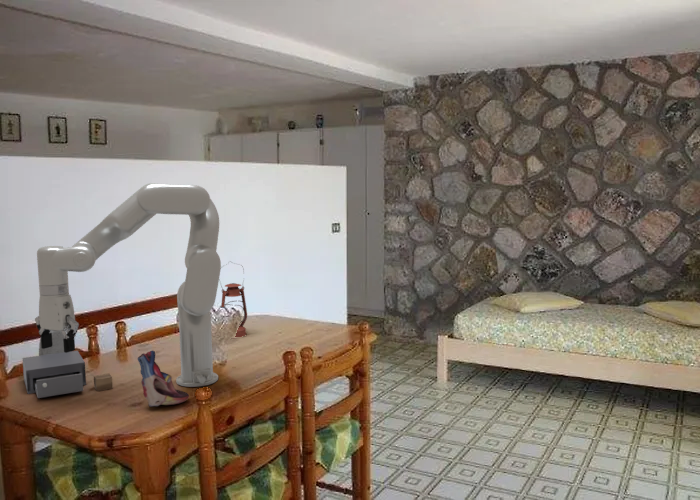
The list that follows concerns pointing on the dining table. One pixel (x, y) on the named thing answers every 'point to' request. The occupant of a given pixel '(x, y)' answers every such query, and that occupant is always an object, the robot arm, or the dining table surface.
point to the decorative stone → (54, 344)
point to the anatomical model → (158, 383)
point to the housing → (52, 367)
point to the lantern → (233, 292)
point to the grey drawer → (58, 384)
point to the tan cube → (103, 382)
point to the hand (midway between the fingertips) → (58, 349)
